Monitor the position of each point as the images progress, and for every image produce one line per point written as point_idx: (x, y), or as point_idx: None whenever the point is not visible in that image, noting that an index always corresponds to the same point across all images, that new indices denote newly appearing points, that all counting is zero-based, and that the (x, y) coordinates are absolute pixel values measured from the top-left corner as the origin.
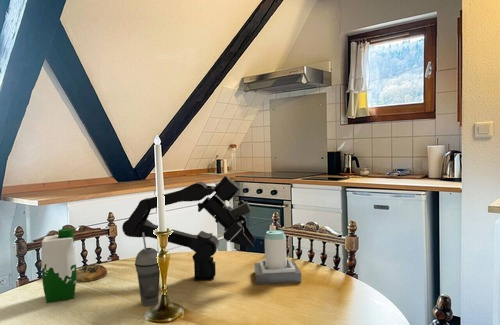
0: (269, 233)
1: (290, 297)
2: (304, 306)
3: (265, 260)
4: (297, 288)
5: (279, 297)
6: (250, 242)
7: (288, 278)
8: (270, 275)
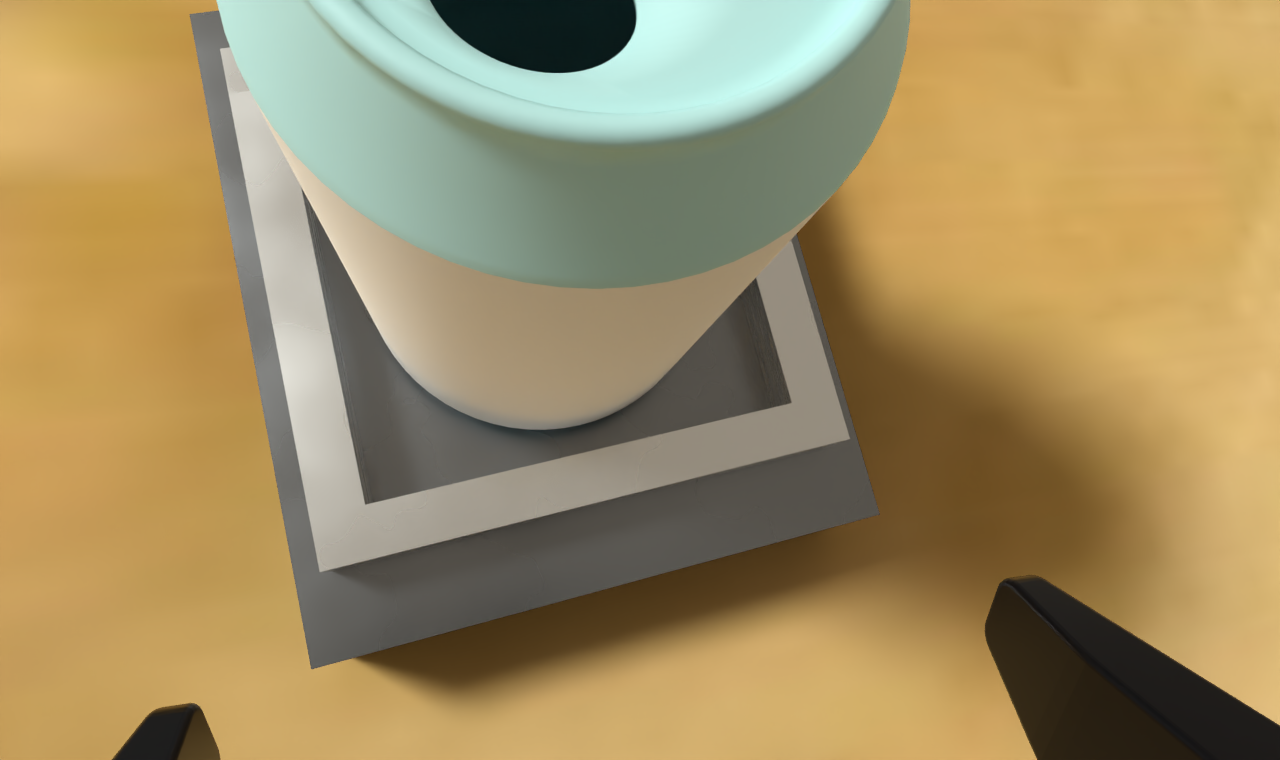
0: (863, 5)
1: (1089, 135)
2: (1233, 24)
3: (617, 399)
4: None
5: (1112, 236)
6: (1173, 667)
7: None
8: (819, 331)
